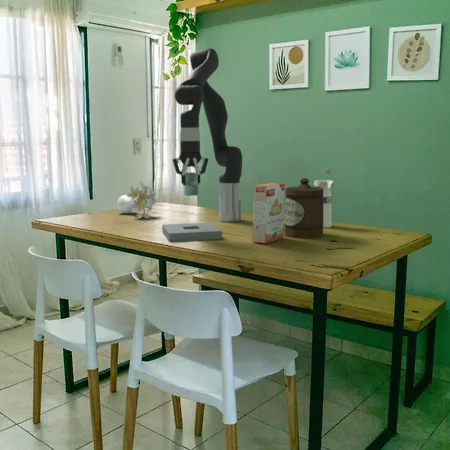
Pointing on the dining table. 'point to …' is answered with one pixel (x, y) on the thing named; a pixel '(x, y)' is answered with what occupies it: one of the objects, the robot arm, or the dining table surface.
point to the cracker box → (268, 212)
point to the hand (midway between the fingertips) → (190, 184)
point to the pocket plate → (191, 231)
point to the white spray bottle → (326, 199)
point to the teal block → (191, 184)
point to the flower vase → (136, 200)
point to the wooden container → (304, 211)
